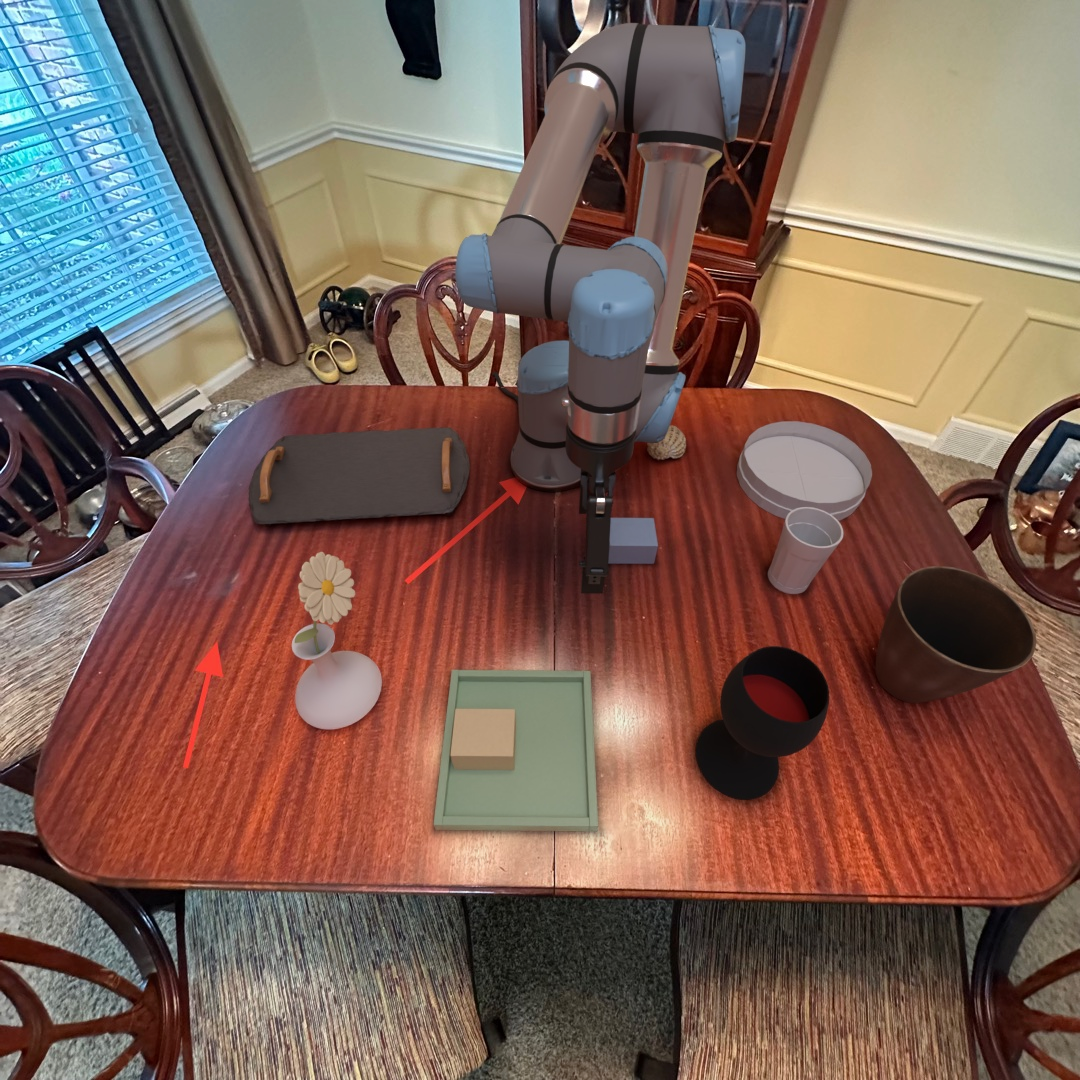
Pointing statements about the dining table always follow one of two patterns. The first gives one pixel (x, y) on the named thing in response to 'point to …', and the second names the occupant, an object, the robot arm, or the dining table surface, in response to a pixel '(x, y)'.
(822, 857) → the dining table surface
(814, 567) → the cup
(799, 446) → the dish
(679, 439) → the seashell
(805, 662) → the wine glass
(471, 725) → the tan pad
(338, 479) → the serving tray
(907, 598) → the flower pot
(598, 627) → the dining table surface
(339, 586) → the flower in vase
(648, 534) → the blue pad
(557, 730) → the frame
